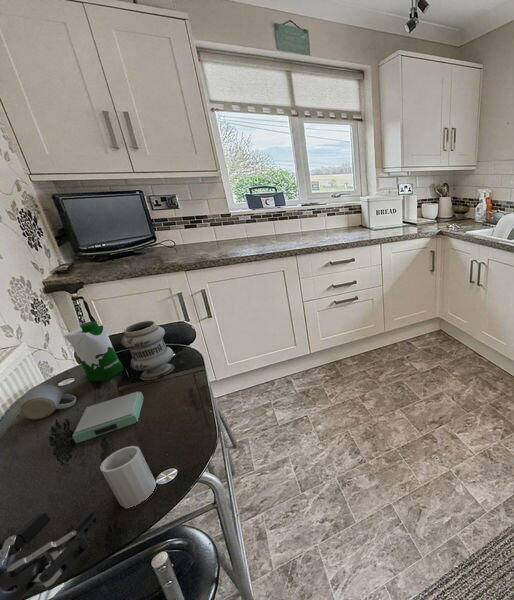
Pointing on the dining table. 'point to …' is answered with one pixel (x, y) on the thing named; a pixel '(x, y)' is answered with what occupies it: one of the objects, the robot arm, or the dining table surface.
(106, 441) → the dining table surface
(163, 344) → the apothecary jar
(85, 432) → the kitchen scale
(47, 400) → the ceramic mug
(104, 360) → the milk carton
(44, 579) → the robot arm
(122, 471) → the white cup
